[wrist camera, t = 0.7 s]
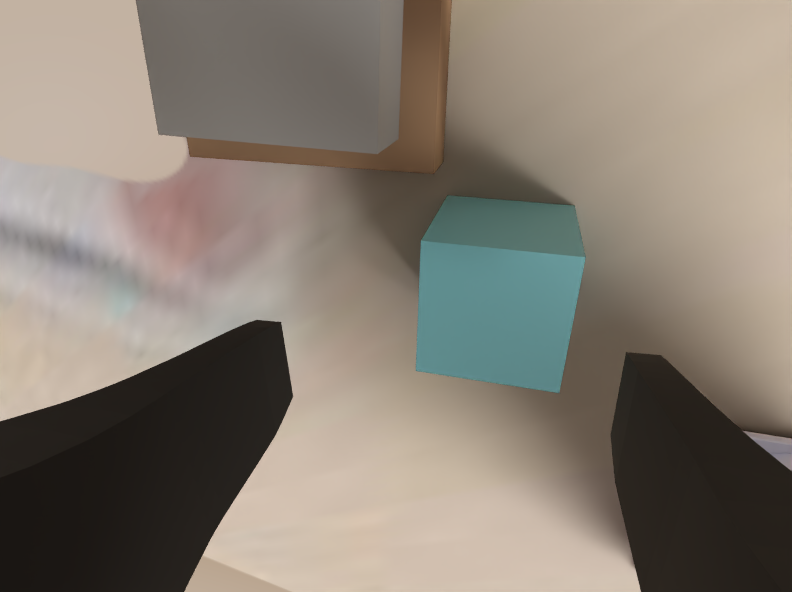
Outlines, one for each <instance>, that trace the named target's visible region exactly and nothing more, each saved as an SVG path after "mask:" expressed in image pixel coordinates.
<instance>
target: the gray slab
mask: <svg viewBox="0 0 792 592" xmlns="http://www.w3.org/2000/svg"><path fill="white" fill-rule="evenodd" d="M136 4H137V10H138V16H139V22H140V27H141V34H142V40H143V45H144V52H145V58H146V63H147V69H148V75H149V81H150V87H151V93H152V99H153V105H154V111H155V117H156V123H157V128H158V134H159V135H169V136H180V137H191V138H203V139H214V140H225V141H236V142H247V143H259V144H270V145H281V146H292V147H304V148H315V149H326V150H337V151H348V152H360V153H371V154H378V153H380V152H381V151H383V150H384V149H385V148H387V147H388V146H390V145H391V144H392V143H394V142H395V141H396V140H398V139H399V112H400V86H401V59H402V32H403V5H404V0H136Z"/></svg>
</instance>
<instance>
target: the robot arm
mask: <svg viewBox="0 0 792 592" xmlns="http://www.w3.org/2000/svg"><path fill="white" fill-rule="evenodd" d="M292 398H293V393H292V387H291V381H290V375H289V368H288V362H287V356H286V350H285V344H284V337H283V331H282V325H281V322H274V321H262V320H255V321H252V322H249V323H247V324H244V325H242V326H239V327H237V328H235V329H233V330H231V331H228V332H226V333H224V334H222V335H220V336H218V337H216V338H214V339H212V340H210V341H207V342H205V343H203V344H201V345H199V346H197V347H195V348H193V349H191V350H189V351H187V352H185V353H183V354H181V355H178V356H176V357H174V358H172V359H170V360H168V361H166V362H163V363H161V364H159V365H157V366H154V367H152V368H150V369H148V370H145V371H143V372H141V373H139V374H136V375H134V376H132V377H130V378H127V379H125V380H123V381H120V382H118V383H115V384H113V385H110V386H108V387H105V388H103V389H100V390H97V391H95V392H92V393H89V394H86V395H83V396H81V397H78V398H75V399H72V400H69V401H66V402H64V403H61V404H57V405H54V406H51V407H47V408H44V409H41V410H37V411H34V412H31V413H27V414H24V415H21V416H17V417H14V418H11V419H7V420H4V421H0V592H184V591H185V589H186V586H187V585H188V583H189V580H190V578H191V576H192V575H193V573H194V571H195V568H196V567H197V565H198V563H199V561H200V559H201V557H202V555H203V553H204V551H205V549H206V547H207V545H208V543H209V541H210V539H211V537H212V536H213V534H214V532H215V530H216V529H217V527H218V525H219V524H220V522H221V520H222V518H223V517H224V515H225V514H226V512H227V511H228V509H229V507H230V506H231V504H232V503H233V501H234V500H235V498H236V497H237V495H238V493H239V492H240V490H241V489H242V487H243V486H244V484H245V483H246V481H247V479H248V478H249V476H250V475H251V473H252V472H253V470H254V469H255V467H256V465H257V464H258V462H259V461H260V459H261V458H262V456H263V454H264V453H265V451H266V450H267V448H268V446H269V445H270V443H271V442H272V440H273V438H274V437H275V435H276V433H277V431H278V429H279V427H280V425H281V423H282V420H283V418H284V416H285V414H286V412H287V409H288V407H289V405H290V402H291V400H292ZM611 444H612V455H613V465H614V474H615V483H616V487H617V492H618V496H619V501H620V505H621V509H622V514H623V518H624V522H625V526H626V530H627V535H628V539H629V543H630V547H631V551H632V556H633V560H634V564H635V568H636V572H637V577H638V581H639V585H640V589H641V592H792V439H791V438H785V437H779V436H772V435H766V434H760V433H753V432H747V431H742V430H741V429H740V428H739V427H737V426H736V425H735V424H734V423H733V422H732V421H731V420H730V419H728V418H727V417H726V416H725V415H724V414H723V413H722V412H721V411H720V410H719V409H717V408H716V407H715V406H714V405H713V404H712V403H711V402H710V401H709V400H708V399H707V398H706V397H704V396H703V395H702V394H701V393H700V392H699V391H698V390H697V389H696V388H695V387H694V386H693V385H692V384H691V383H690V382H689V381H688V380H687V379H686V378H685V377H684V376H683V375H681V374H680V373H679V372H678V371H677V370H676V369H675V368H674V367H673V366H672V365H671V364H670V363H669V362H668V361H667V360H666V359H664V358H663V357H662V356H661V355H650V354H639V353H628V352H626V356H625V362H624V367H623V372H622V378H621V383H620V388H619V394H618V399H617V404H616V410H615V415H614V420H613V426H612V431H611Z"/></svg>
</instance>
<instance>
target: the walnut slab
mask: <svg viewBox="0 0 792 592" xmlns="http://www.w3.org/2000/svg"><path fill="white" fill-rule="evenodd" d="M451 5H452V0H404V5H403V32H402V59H401V86H400V112H399V139H398V140H396V141H395V142H394V143H392V144H391V145H390V146H388V147H387V148H385V149H384V150H383V151H381V152H380V153H378V154H371V153H360V152H348V151H337V150H326V149H315V148H304V147H292V146H281V145H270V144H259V143H247V142H236V141H225V140H214V139H203V138H191V137H187V142H188V148H189V154H190V157H202V158H216V159H230V160H244V161H259V162H273V163H287V164H301V165H315V166H330V167H344V168H358V169H372V170H387V171H401V172H415V173H429V174H434V173H435V172H436V170H437V169H438V168H439V166H440V165H441V164H442V163H443V155H444V136H445V118H446V99H447V80H448V61H449V42H450V24H451Z"/></svg>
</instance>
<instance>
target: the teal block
mask: <svg viewBox="0 0 792 592" xmlns="http://www.w3.org/2000/svg"><path fill="white" fill-rule="evenodd" d="M585 258H586V257H585V252H584V247H583V242H582V238H581V233H580V228H579V224H578V219H577V214H576V210H575V206H574V205H562V204H549V203H537V202H524V201H512V200H500V199H487V198H475V197H463V196H450V195H447V197H446V199H445V201H444V202H443V204H442V206H441V207H440V209H439V211H438V212H437V214H436V216H435V218H434V219H433V221H432V223H431V224H430V226H429V228H428V229H427V231H426V233H425V235H424V236H423V238H422V240H421V251H420V276H419V302H418V328H417V354H416V371H420V372H426V373H433V374H439V375H445V376H452V377H458V378H465V379H471V380H478V381H484V382H491V383H497V384H503V385H510V386H516V387H523V388H529V389H536V390H542V391H548V392H555V393H559V392H560V387H561V381H562V376H563V371H564V366H565V361H566V356H567V351H568V345H569V340H570V335H571V330H572V325H573V320H574V315H575V310H576V304H577V299H578V294H579V289H580V284H581V279H582V274H583V269H584V263H585Z"/></svg>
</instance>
